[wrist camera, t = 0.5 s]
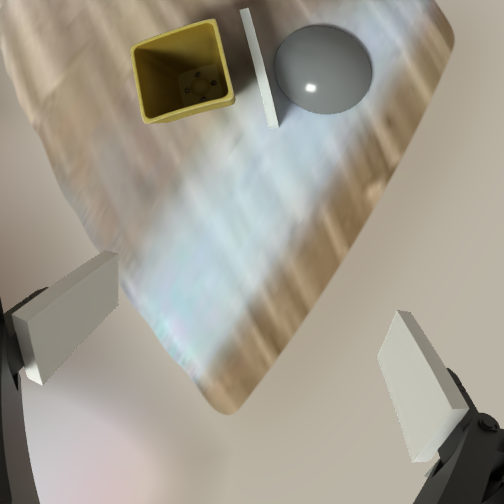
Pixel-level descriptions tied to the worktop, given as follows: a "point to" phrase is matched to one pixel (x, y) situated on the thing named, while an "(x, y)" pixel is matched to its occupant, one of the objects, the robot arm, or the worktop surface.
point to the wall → (259, 69)
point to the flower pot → (181, 73)
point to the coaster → (322, 70)
